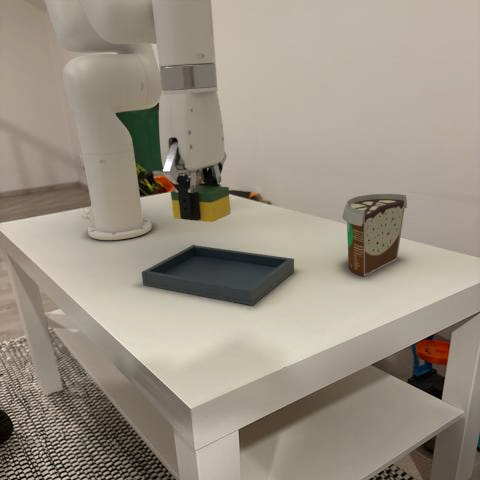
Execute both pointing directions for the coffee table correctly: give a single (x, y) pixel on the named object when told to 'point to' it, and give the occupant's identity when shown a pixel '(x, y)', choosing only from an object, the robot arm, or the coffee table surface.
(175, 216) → the sponge
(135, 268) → the coffee table surface
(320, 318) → the coffee table surface
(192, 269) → the tray
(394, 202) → the food container
